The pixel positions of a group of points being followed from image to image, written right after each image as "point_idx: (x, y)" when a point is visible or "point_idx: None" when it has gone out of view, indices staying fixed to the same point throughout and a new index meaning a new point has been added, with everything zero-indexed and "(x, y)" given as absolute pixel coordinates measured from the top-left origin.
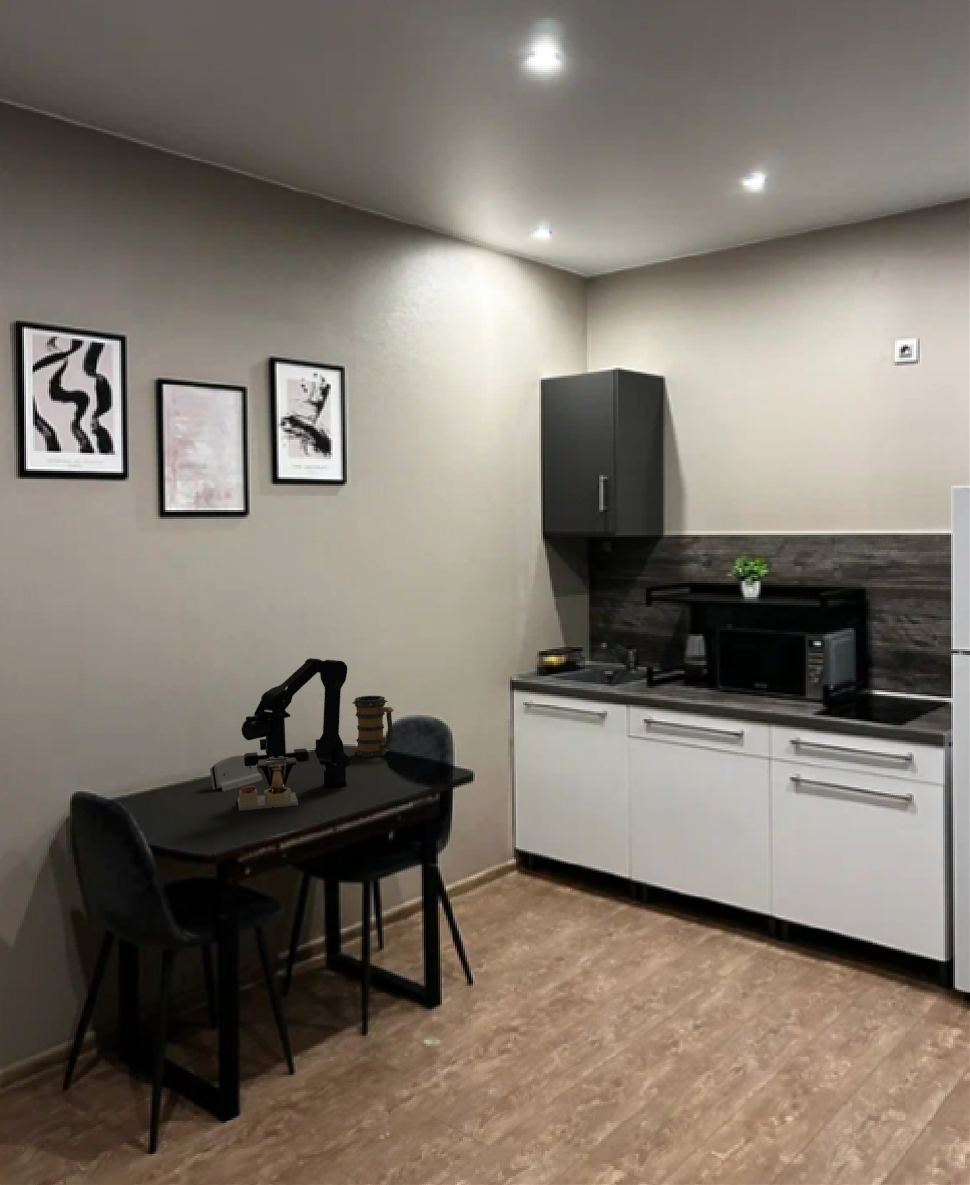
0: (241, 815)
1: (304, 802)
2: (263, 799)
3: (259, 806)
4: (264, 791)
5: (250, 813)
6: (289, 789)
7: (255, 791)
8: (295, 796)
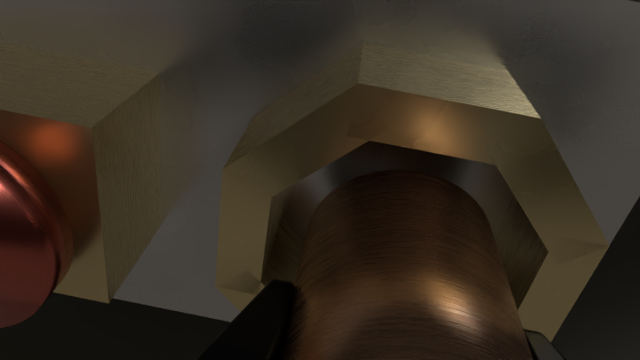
0: (48, 354)
1: (615, 315)
2: (233, 147)
3: (177, 303)
4: (224, 185)
5: (111, 347)
6: (563, 301)
7: (83, 250)
8: (613, 221)
